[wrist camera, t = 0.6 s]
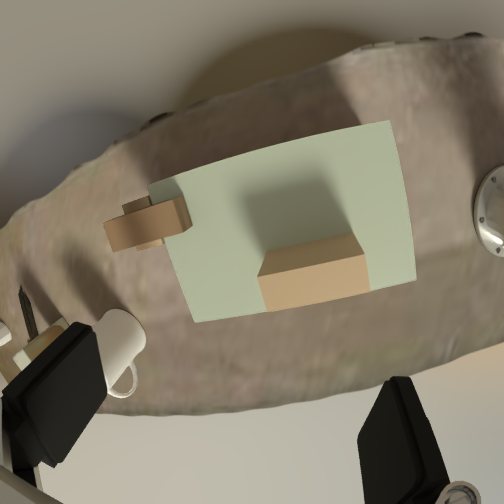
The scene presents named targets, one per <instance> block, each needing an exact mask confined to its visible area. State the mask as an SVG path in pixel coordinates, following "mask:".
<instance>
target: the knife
mask: <svg viewBox="0 0 504 504" xmlns="http://www.w3.org/2000/svg"><path fill="white" fill-rule="evenodd" d="M18 295H19V299H20V304H21V308H22V312H23V316H24V319H25V323H26V327H27V330H28V334H29V337H30V340H31V341H32V340H33V339H34V338H36V337H37V336H38V333H37V329H36V326H35V322H34V318H33V314H32V310H31V306H30V303H29V301H28V299H27V298H26V296H25V294H24V293H22V288H21V286H20V290H19V294H18ZM23 296H24V297H23ZM24 300H25V301H24ZM25 305H26V306H25ZM26 309H27V310H26ZM27 313H28V314H27ZM28 317H29V318H28ZM29 320H30V321H29ZM30 324H31V325H30ZM31 328H32V329H31ZM32 331H33V332H32Z"/></svg>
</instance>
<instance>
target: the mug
mask: <svg viewBox="0 0 504 504" xmlns="http://www.w3.org/2000/svg"><path fill="white" fill-rule="evenodd" d="M92 329H93V331H94V332H95V333H96V336H97V342H98V347H99V352H100V357H101V362H102V367H103V371H104V376H105V380H106V384H107V389H108V391H107V393H109V394H110V395H112V396H114V397H118V398H124V397H128V396H130V395H131V394H132V393H133V392H134V391H135V389H136V387H137V383H138V374H137V369H136V366H135V364H134V362H133V359H134V357H135V356H136V355H137V354H138V353H139V352H140V351H142V350H143V348H144V347H145V344H146V336H145V332H144V330H143V328H142V326H141V324H140V323H139V322H138V321H137V319H136V318H135V317H133V316H132V315H131V314H129V313H128V312H126V311H123V310H120V309H111V310H109V311H107V312H106V313H105V314H104V315H103V317H102V318H101V319H100V320H99V321H98V322H97V323H96V324H95V325H94V326H93V327H92ZM128 365H129V367H130V368H131V370H132V373H133V379H134V382H133V387H132V389H131V390H130V391H129V392H128V393H125V394H122V393H119V392H117V391H115V390H114V389H113V388H112V386H113V384H114V383H115V382H116V381H117V379H118V378H119V377H120V375H121V374H122V373H123V372H124V370H125V369H126V368H127V366H128Z"/></svg>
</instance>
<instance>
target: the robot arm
mask: <svg viewBox="0 0 504 504" xmlns="http://www.w3.org/2000/svg"><path fill="white" fill-rule="evenodd" d="M474 223H475V228H476V232H477V235H478V238H479V239H480V241H481V243H482V245H483V246H484V247H485V248H486V249H487V250H488V251H490V252H491V253H493V254H494V255H496V256H500V257H504V165H501V166H498V167H496V168H494V169H493V170H492V171H491V172H489V173H488V175H487V176H486V177H485V178H484V180H483V181H482V183H481V185H480V187H479V190H478V192H477V195H476V200H475V205H474ZM107 391H108V389H107V384H106V380H105V376H104V371H103V367H102V362H101V357H100V352H99V347H98V342H97V336H96V333H95V332H94V331H93V329H92V327H91V326H89V325H86V324H83V323H80V322H74V323H72V324H71V325H70V326H69V327H68V328H67V329H66V330H65V331H64V332H63V333H61V334H60V335H59V336H58V337H57V338H56V339H55V340H54V341H53V342H52V343H51V344H50V345H48V346H47V347H46V348H45V349H44V350H43V351H42V352H41V353H40V354H39V355H38V356H37V357H36V358H35V359H34V360H33V361H32V362H31V363H30V364H29V365H27V366H26V367H25V368H24V369H23V370H22V371H21V372H20V373H19V374H18V375H17V376H16V377H15V378H14V379H13V380H12V381H11V382H10V383H9V384H8V385H7V386H6V387H5V388H4V389H3V390H2V393H3V396H2V397H1V398H0V504H63V503H61V502H59V501H58V500H56V499H54V498H52V497H51V496H49V495H47V494H45V493H44V492H43V489H42V484H41V479H40V474H39V469H38V464H39V463H40V462H41V461H42V462H44V463H46V464H47V465H49V466H51V467H53V468H55V466H56V465H57V463H61V462H63V461H64V459H65V458H66V456H67V455H68V453H69V451H70V450H71V448H72V447H73V445H74V444H75V442H76V441H77V439H78V438H79V436H80V435H81V433H82V432H83V430H84V429H85V427H86V426H87V424H88V423H89V421H90V420H91V418H92V417H93V416H94V414H95V413H96V411H97V410H98V408H99V407H100V405H101V404H102V402H103V401H104V399H105V398H106V396H107ZM357 444H358V451H359V459H360V467H361V474H362V483H363V491H364V500H365V504H481V497H480V494H479V492H478V490H477V489H476V488H475V487H474V486H473V485H472V484H470V483H468V482H465V481H455V482H452V483H450V480H449V477H448V474H447V471H446V467H445V464H444V461H443V459H442V456H441V452H440V450H439V447H438V444H437V441H436V438H435V436H434V433H433V430H432V427H431V425H430V422H429V420H428V418H427V417H426V415H425V413H424V410H423V407H422V405H421V402H420V400H419V397H418V395H417V392H416V390H415V387H414V385H413V382H412V380H411V378H410V377H403V376H393V377H391V378H390V380H389V381H385V382H384V384H383V386H382V388H381V391H380V393H379V395H378V397H377V399H376V401H375V403H374V405H373V407H372V409H371V411H370V413H369V415H368V417H367V419H366V421H365V423H364V425H363V427H362V428H361V430H360V432H359V435H358V439H357Z"/></svg>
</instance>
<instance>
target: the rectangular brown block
mask: <svg viewBox="0 0 504 504" xmlns="http://www.w3.org/2000/svg"><path fill="white" fill-rule="evenodd" d="M103 225H104V228H105V231H106V234H107V237H108V240H109V242H110V245H111V248H112V251H113V252H116V251H120V250H123V249H126V248H130V247H133V246H137V245H141V244H144V243H148V242H151V241H155V240H158V239H162V238H166V237H169V236H173V235H177V234H180V233H184V232H185V231H186V230H188V229H189V228H191V227H192V226H193V224H192V221H191V218H190V215H189V212H188V209H187V205H186V202H185V199H184V196H183V195H182V196H179V197H176V198H172V199H169V200H166V201H163V202H160V203H157V204H154V205H151V206H148V207H145V208H142V209H139V210H136V211H134V212H131V213H128V214H125V215H122V216H119V217H117V218H114V219H112V220H110V221H107V222H105V223H103Z"/></svg>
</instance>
